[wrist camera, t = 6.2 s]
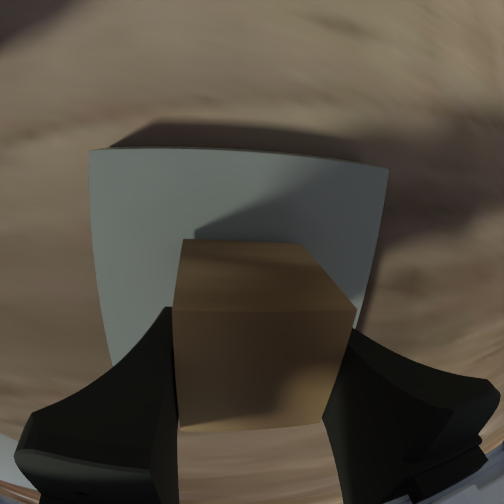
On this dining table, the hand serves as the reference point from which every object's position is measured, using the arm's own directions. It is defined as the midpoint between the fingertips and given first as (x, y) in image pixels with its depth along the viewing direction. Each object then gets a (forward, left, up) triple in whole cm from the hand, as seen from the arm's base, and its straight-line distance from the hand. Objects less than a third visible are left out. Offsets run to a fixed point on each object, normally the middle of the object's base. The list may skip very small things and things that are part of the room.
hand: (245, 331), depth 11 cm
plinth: (0, 0, -5) cm, 5 cm away
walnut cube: (0, 0, -2) cm, 2 cm away
